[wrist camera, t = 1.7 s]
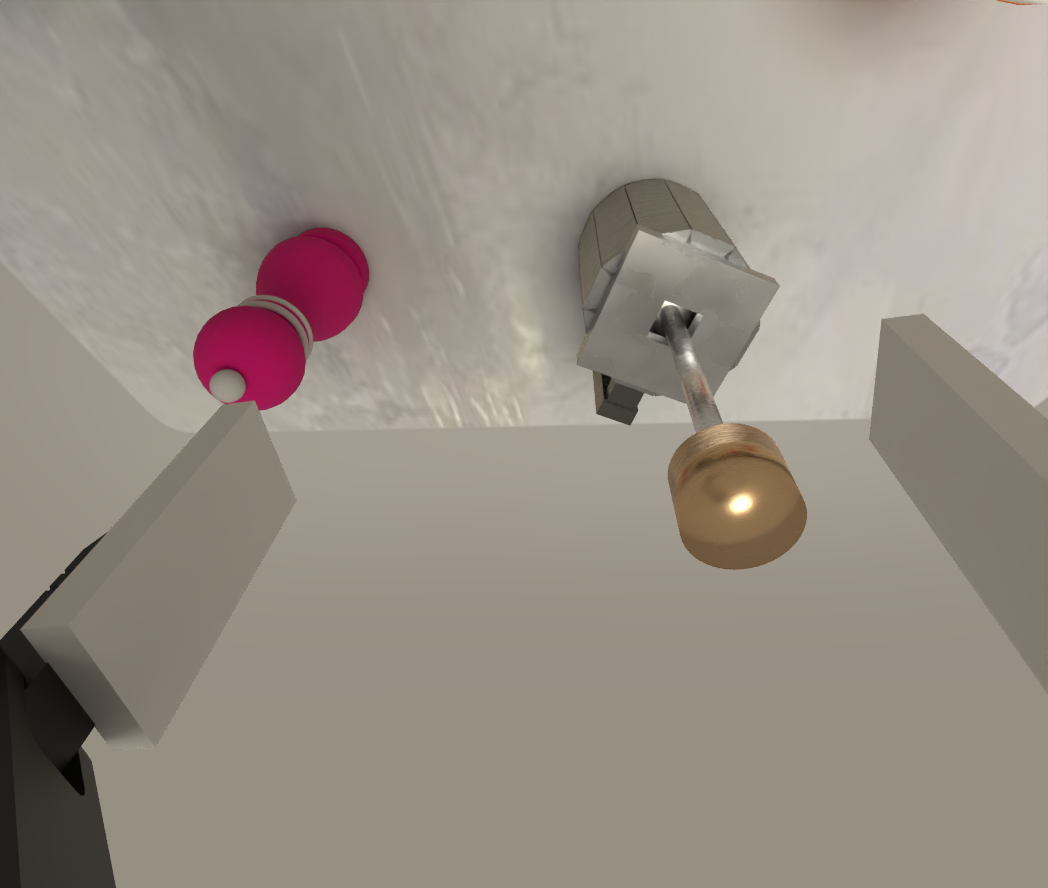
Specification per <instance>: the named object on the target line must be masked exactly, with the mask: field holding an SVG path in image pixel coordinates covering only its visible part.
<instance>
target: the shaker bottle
mask: <svg viewBox="0 0 1048 888" xmlns="http://www.w3.org/2000/svg"><path fill="white" fill-rule="evenodd" d="M998 1H1001V2H1006V3H1011V4H1016V5H1030V4H1048V0H998Z"/></svg>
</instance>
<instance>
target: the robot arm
mask: <svg viewBox="0 0 1048 888" xmlns="http://www.w3.org/2000/svg"><path fill="white" fill-rule="evenodd" d="M869 439H870V441H871V442H872V444H873V445H874V447H875V448H876V449H877V451H878V452H879V454H880V455H881V457H882V458H883V460H884V461H885V462H886V464H887V465H888V467H889V468H890V470H891V471H892V472H893V474H894V475H895V477H896V478H897V480H898V481H899V482H900V484H901V485H902V487H903V488H904V490H905V491H906V492H907V494H908V495H909V497H910V498H911V500H912V501H913V502H914V504H915V505H916V507H917V508H918V510H919V511H920V512H921V514H922V515H923V517H924V518H925V520H926V521H927V522H928V524H929V525H930V527H931V528H932V530H933V531H934V532H935V534H936V535H937V537H938V538H939V540H940V541H941V542H942V544H943V545H944V547H945V548H946V550H947V551H948V552H949V554H950V555H951V557H952V558H953V560H954V561H955V562H956V564H957V565H958V567H959V568H960V569H961V571H962V572H963V574H964V575H965V576H966V578H967V580H968V581H969V582H970V584H971V585H972V586H973V588H974V589H975V591H976V592H977V594H978V595H979V597H980V598H981V599H982V601H983V602H984V604H985V605H986V607H987V608H988V609H989V611H990V612H991V614H992V615H993V616H994V618H995V619H996V621H997V622H998V624H999V625H1000V626H1001V628H1002V629H1003V631H1004V632H1005V634H1006V635H1007V636H1008V638H1009V639H1010V641H1011V642H1012V644H1013V645H1014V646H1015V648H1016V649H1017V651H1018V652H1019V654H1020V655H1021V657H1022V658H1023V659H1024V661H1025V662H1026V664H1027V665H1028V666H1029V668H1030V669H1031V671H1032V672H1033V674H1034V675H1035V677H1036V678H1037V679H1038V681H1039V682H1040V684H1041V685H1042V687H1043V688H1044V689H1045V690H1046V692H1047V694H1048V419H1047V418H1046V417H1044V416H1043V415H1042V414H1041V413H1040V412H1039V411H1037V410H1036V409H1035V408H1034V407H1033V406H1031V405H1030V404H1029V403H1028V402H1027V401H1026V400H1024V399H1023V398H1022V397H1021V396H1020V395H1019V394H1017V393H1016V392H1015V391H1014V390H1013V389H1011V388H1010V387H1009V386H1008V385H1007V384H1006V383H1004V382H1003V381H1002V380H1001V379H1000V378H998V377H997V376H996V375H995V374H994V373H993V372H991V371H990V370H989V369H988V368H987V367H986V366H984V365H983V364H982V363H981V362H980V361H978V360H977V359H976V358H975V357H974V356H973V355H971V354H970V353H969V352H968V351H967V350H966V349H964V348H963V347H962V346H961V345H960V344H958V343H957V342H956V341H955V340H954V339H953V338H951V337H950V336H949V335H948V334H947V333H945V332H944V331H943V330H942V329H941V328H940V327H938V326H937V325H936V324H935V323H934V322H933V321H931V320H930V319H929V318H928V317H927V316H925V315H924V314H919V315H911V316H903V317H895V318H888V319H882V321H881V330H880V340H879V350H878V359H877V369H876V379H875V388H874V398H873V407H872V417H871V427H870V437H869ZM295 502H296V498H295V495H294V493H293V491H292V488H291V486H290V484H289V481H288V479H287V476H286V474H285V472H284V469H283V467H282V464H281V462H280V460H279V457H278V455H277V453H276V450H275V448H274V445H273V443H272V441H271V438H270V436H269V433H268V431H267V429H266V426H265V424H264V422H263V419H262V417H261V414H260V412H259V410H258V407H257V405H256V402H255V401H247V402H239V403H232V404H224V405H222V406H221V407H220V408H219V409H218V410H217V412H216V413H215V414H214V415H213V416H212V417H211V418H210V419H209V420H208V422H207V423H206V424H205V425H204V426H203V427H202V428H201V429H200V430H199V432H198V433H197V434H196V435H195V436H194V437H193V438H192V439H191V440H190V442H189V443H188V444H187V445H186V446H185V447H184V448H183V449H182V450H181V452H180V453H179V454H178V455H177V456H176V457H175V458H174V459H173V460H172V462H171V463H170V464H169V465H168V466H167V467H166V468H165V469H164V470H163V471H162V473H161V474H160V475H159V476H158V477H157V478H156V479H155V480H154V481H153V483H152V484H151V485H150V486H149V487H148V488H147V489H146V490H145V491H144V493H143V494H142V495H141V496H140V497H139V498H138V499H137V500H136V501H135V503H134V504H133V505H132V506H131V507H130V508H129V509H128V510H127V511H126V513H125V514H124V515H123V516H122V517H121V518H120V519H119V520H118V522H117V523H116V524H115V525H114V526H113V527H112V528H111V529H110V530H109V531H108V532H107V533H106V534H104V535H103V536H102V537H100V538H99V539H97V540H96V541H95V542H93V543H92V544H90V545H89V546H88V547H86V548H85V549H83V551H82V552H81V553H80V554H79V555H78V556H77V557H76V558H75V559H74V561H72V563H71V564H70V565H69V566H68V567H67V568H66V569H65V574H61V575H60V576H59V577H58V578H57V579H56V580H55V581H54V582H53V583H52V584H51V586H50V590H49V591H45V592H44V593H43V594H42V595H41V596H40V598H39V599H38V600H37V601H36V602H35V603H34V604H33V605H32V606H31V607H30V608H29V610H28V611H27V612H26V613H25V614H24V615H23V616H22V617H21V618H20V619H19V620H18V621H17V623H16V624H15V625H14V626H13V627H12V628H11V629H10V630H9V631H8V632H7V633H6V634H5V636H4V637H3V638H2V639H1V640H0V888H116V886H115V880H114V876H113V870H112V865H111V860H110V854H109V849H108V844H107V840H106V834H105V829H104V824H103V818H102V813H101V807H100V803H99V797H98V792H97V787H96V781H95V776H94V771H93V766H92V761H91V760H90V758H89V756H88V755H87V753H86V752H85V751H84V749H83V748H82V747H81V745H82V744H83V742H84V741H85V740H86V738H87V737H88V735H89V734H90V732H91V731H92V729H93V728H94V727H95V728H96V729H97V731H98V732H99V733H100V734H101V736H102V737H103V738H104V740H105V741H106V742H107V744H108V745H109V746H110V748H111V749H112V750H123V749H141V748H155V747H156V746H157V744H158V743H159V741H160V739H161V737H162V736H163V734H164V732H165V730H166V729H167V727H168V725H169V723H170V722H171V720H172V718H173V716H174V715H175V713H176V711H177V709H178V708H179V706H180V704H181V702H182V701H183V699H184V697H185V695H186V694H187V692H188V690H189V688H190V686H191V685H192V683H193V681H194V679H195V678H196V676H197V674H198V672H199V671H200V669H201V667H202V665H203V663H204V662H205V660H206V658H207V657H208V655H209V653H210V651H211V650H212V648H213V646H214V644H215V643H216V641H217V639H218V637H219V636H220V634H221V632H222V630H223V628H224V627H225V625H226V623H227V622H228V620H229V618H230V616H231V615H232V613H233V611H234V609H235V608H236V606H237V604H238V602H239V600H240V599H241V597H242V595H243V593H244V592H245V590H246V588H247V587H248V585H249V583H250V581H251V580H252V578H253V576H254V574H255V572H256V571H257V569H258V567H259V565H260V564H261V562H262V560H263V559H264V557H265V555H266V553H267V551H268V550H269V548H270V546H271V544H272V543H273V541H274V539H275V537H276V536H277V534H278V532H279V530H280V529H281V527H282V525H283V523H284V522H285V520H286V518H287V516H288V515H289V513H290V511H291V509H292V508H293V506H294V504H295Z"/></svg>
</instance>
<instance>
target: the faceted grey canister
mask: <svg viewBox="0 0 1048 888" xmlns="http://www.w3.org/2000/svg"><path fill="white" fill-rule="evenodd" d="M578 248H579V262H580V275H581V289H582V303H583V314H584V321H585V329H586V336H585V338H584V341H583V343H582V345H581V347H580V349H579V352H578V354H577V365H580V366H582V367H585V368H588V369H591V370H593V380H594V392H595V403H596V414H598V415H601V416H604V417H607V418H610V419H613V420H616V421H619V422H621V423H624V424H627V425H631V423H632V421H633V419H634V417H635V416H636V414H637V412H638V408H637V406H638V404H639V402H640V400H641V398H642V396H643V394H644V393H646V394H649V395H652V396H654V395H655V396H661V395H663V396H666V397H669V398H672V399H675V400H677V401H680V402H683V403H686V404H687V402H686V399H685V396H684V393H683V390H682V386H681V383H680V380H679V377H678V373H677V370H676V367H675V364H674V361H673V357H672V354H671V351H670V348H669V345H668V341H667V338H665V337H663V336H660V335H657V334H654V333H652V332H649V331H650V329H651V327H652V325H653V323H654V321H655V319H656V317H657V315H658V313H659V311H660V309H661V307H662V305H663V303H664V301H667V302H670V303H672V304H675V305H677V306H680V307H683V308H685V309H688V310H690V311H693V312H696V313H697V314H696V316H695V318H694V319H693V321H692V323H691V325H690V327H689V329H688V333H689V336H690V338H691V341H692V343H693V346H694V349H695V351H696V354H697V356H698V359H699V362H700V364H701V367H702V370H703V372H704V375H705V377H706V380H707V383H708V385H709V388H710V391H711V393H712V396H714V395H715V393H716V391H717V390H718V388H719V386H720V385H721V383H722V381H723V380H724V378H725V376H726V375H727V373H728V372H729V371H730V370H732V369H733V368H735V367H736V366H737V365H738V363H739V361H740V360H741V358H742V357H743V355H744V353H745V352H746V350H747V348H748V347H749V345H750V343H751V342H752V340H753V338H754V337H755V335H756V333H757V332H758V330H759V327H760V318H761V317H762V315H763V313H764V312H765V310H766V308H767V307H768V305H769V303H770V302H771V300H772V298H773V297H774V295H775V293H776V292H777V290H778V288H779V287H780V286H779V284H778V283H777V282H776V280H775V279H774V278H772V277H769V276H767V275H764V274H762V273H759V272H757V271H754V270H751V269H750V267H749V266H748V264H747V263H746V261H745V260H744V258H743V257H742V255H741V254H740V252H739V251H738V249H737V248H736V247H735V245H734V244H733V242H732V241H731V239H730V238H729V237H728V235H727V234H726V232H725V231H724V229H723V228H722V227H721V225H720V224H719V222H718V221H717V220H716V218H715V217H714V215H713V214H712V212H711V211H710V210H709V208H708V207H707V205H706V204H705V202H704V201H703V200H702V198H701V197H700V195H699V194H698V193H696V192H693V191H691V190H690V189H688V188H687V187H685V186H683V185H681V184H678V183H675V182H672V181H668V180H663V179H646V180H640V181H636V182H632V183H629V184H627V185H624V186H622V187H620V188H618V189H617V190H615V191H613V192H612V193H611V194H609V195H608V196H607V197H606V198H605V199H603V200H602V201H601V202H600V203H599V205H598V206H597V207H596V208H595V209H594V211H593V212H592V214H591V215H590V217H589V219H588V221H587V223H586V225H585V228H584V230H583V233H582V238H581V241H580V243H579V246H578ZM735 365H736V366H735Z"/></svg>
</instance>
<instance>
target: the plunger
mask: <svg viewBox="0 0 1048 888" xmlns="http://www.w3.org/2000/svg"><path fill="white" fill-rule="evenodd" d="M696 314H697V313H696V312H693V311H690V310H688V309H685V308H683V307H680V306H677V305H675V304H672V303H670V302H667V301H664V303H663V305H662V307H661V309H660V311H659V313H658V315H657V317H656V319H655V321H654V323H653V325H652V327H651V329H650V331H649V332H652V333H654V334H657V335H660V336H663V337H665V338H667V341H668V345H669V348H670V351H671V354H672V357H673V361H674V364H675V367H676V370H677V373H678V377H679V380H680V383H681V386H682V390H683V393H684V396H685V399H686V402H687V406H688V409H689V412H690V415H691V418H692V422H693V425H694V428H695V431H696V433H695V434H694V435H692V436H691V437H689V438H688V439H687V440H685V441H684V442H683V443H682V444H681V445H680V446H679V447H678V449H677V450H676V452H675V453H674V455H673V457H672V459H671V461H670V464H669V469H668V482H669V486H670V491H671V495H672V500H673V505H674V509H675V513H676V518H677V523H678V527H679V532H680V536H681V539H682V542H683V543H684V546H685V547H686V549H687V550H688V551H689V552H690V553H691V554H692V555H693V556H694V557H695V558H697V559H698V560H700V561H702V562H704V563H706V564H708V565H711V566H714V567H718V568H723V569H747V568H752V567H757V566H760V565H763V564H766V563H768V562H771V561H773V560H775V559H777V558H778V557H780V556H781V555H783V554H784V553H786V552H787V551H788V550H789V549H790V548H791V547H792V546H793V545H794V544H795V543H796V542H797V541H798V539H799V538H800V536H801V534H802V532H803V530H804V527H805V524H806V519H807V510H806V506H805V502H804V500H803V498H802V495H801V493H800V491H799V489H798V487H797V485H796V483H795V481H794V479H793V477H792V475H791V473H790V471H789V469H788V466H787V464H786V462H785V460H784V458H783V456H782V454H781V452H780V450H779V448H778V446H777V445H776V443H775V442H774V441H773V439H772V438H771V437H770V436H768V435H767V434H766V433H764V432H763V431H761V430H759V429H757V428H755V427H752V426H748V425H742V424H732V423H731V424H723V422H722V419H721V417H720V414H719V411H718V409H717V406H716V404H715V401H714V398H713V396H712V393H711V391H710V388H709V385H708V383H707V380H706V377H705V375H704V372H703V370H702V367H701V364H700V362H699V359H698V356H697V354H696V351H695V349H694V346H693V343H692V341H691V338H690V336H689V333H688V329H689V327H690V325H691V323H692V321H693V319H694V318H695V316H696Z"/></svg>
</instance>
